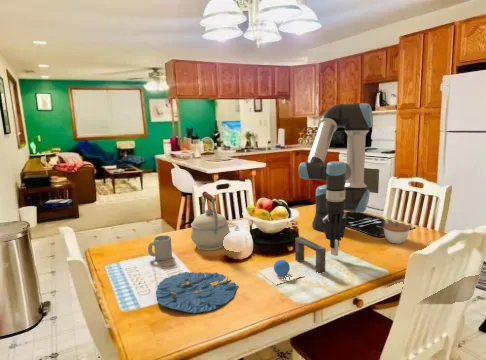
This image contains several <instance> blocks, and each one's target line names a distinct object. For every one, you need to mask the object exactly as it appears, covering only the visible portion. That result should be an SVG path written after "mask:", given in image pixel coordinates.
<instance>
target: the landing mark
mask: <svg viewBox="0 0 486 360" xmlns="http://www.w3.org/2000/svg"><path fill="white" fill-rule="evenodd" d="M289 267H290V269H289V272H288V273H287V274H286V275H284V276H279V275H277V274H276V273H275V271H274V266H271V267H267V268H264V269H259V270H257V273H259V275H261V276H263V277H264V278H265V279H267V280H268V281H270V282H271V283H272V284H274V285H275V286H278V285H281V284H280V283H282V284H285V283H288V282H287V280H286V277H289V276H290V277H292V276H291V275H293V274H294V273H295V270H296V269H294V268H293V267H292V266H290V265H289ZM293 270H294V272H293ZM290 271H291V272H290ZM292 272H293V273H292ZM296 274H297V272H296V273H295V274H294V275H296ZM287 275H288V276H287ZM297 275H299V276H300V275H301V276H300V277H302V278H305V277H304V276H305V275H304V274H302V272H299V274H297ZM285 276H286V277H285ZM299 276H298V277H299ZM290 277H289V280H290ZM294 277H295V276H294ZM284 278H285V280H284ZM282 279H283V280H282ZM292 281H295V280H294V279H293V280H292ZM284 282H285V283H284ZM277 284H278V285H277Z"/></svg>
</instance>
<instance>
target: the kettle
mask: <svg viewBox="0 0 486 360" xmlns="http://www.w3.org/2000/svg"><path fill="white" fill-rule="evenodd" d="M201 195H202V198H203V200H202V205H201V210H202V211H201V212H202V213H201V214H199V215H197V216H196V217H195V218H194V219H193V221H192V222H191V223H190V226H191V230H190V238H191V241H192V242H193V243H194V245H195V247H196V248H198V249H199V250H202V251H216V250H220V249H223V248H224V247H223V240H224V237H225V236H226V235H227V234H228V233H230V234H231V232H230V228H229V223H230V222H229V220H227V219H226V217H225V216H224V215H222V214H220V213H218V212H217V210H216V200H217V199H216V197H215V196H213V195H211V194H210V193H208V192H207V191H203V192H202V194H201ZM206 201H208V202H210V203H211V208H212V209H211V208H208V209H207V210H206Z"/></svg>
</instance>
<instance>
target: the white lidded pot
mask: <svg viewBox="0 0 486 360" xmlns="http://www.w3.org/2000/svg"><path fill="white" fill-rule="evenodd" d="M383 227H384V228H383V233H384V237H385V238H386V239H387V241H388V242H389V241H390V242H392V243H391V244H393V243H402V242H403V243H404V242H405V241H406V240H407V239H408V237H409V232H410V226H409V225H407V224H404V223H400V222H397V221H396V222H387V223H386V222H385V224H383ZM390 242H389V243H390ZM403 243H402V244H403Z"/></svg>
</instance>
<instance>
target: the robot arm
mask: <svg viewBox="0 0 486 360" xmlns="http://www.w3.org/2000/svg"><path fill="white" fill-rule="evenodd" d="M372 127H374V116H373V110H372V106H371V104H370V103H367V102H365V103H364V102H363V103H361V102H360V103H359V102H358V103H356V102H355V103H339V104H335V105H332V106H330V107H329V108H327V110H325V111H324V112H323V114H322V115H321V116H320V118H319V119H318V122H317V128H318V129H317V131H316V134H315V137H314V140H313V143H312V145H311V149H310V152H309V155H308V157H307V160H306V161H304V162H300V164H299V165H298V176H299V178H300V179H303V180H311V181H312V180H315V181H326V183H325V184H323V185H321V184H320V185H319V186H317V187H316V190H315V214H314V217H313V220H312V224H311V228H312V227H313V228H314V229H313V228H312V229H313V230H315V229H316V231H318V230H319V231H318V232H323V231H325V232H324V234H325V239H326V240H328V241H329V248H330V254H331V255H333V256H334V257H336V256H339V247H340V241H341V240H342V239H343V238H344V234H345V231H346V225H347V220H348V219H349V214H347V213H345V211H346V212H354V213H364V212H365V211H366V210H367V207H368V205H369V199H370V193H371V192H370V189H368V185H367V184H366V183H365V180H364V179H365V163H366V162H365V158H366V135H367V134H368V133H369V132H370V128H372ZM339 128H344V132H345V134H346V135H347V138H346V140H347V146H346V149H347V150H346V162H344V161H341V160H340V161H339V160H338V161H336V160H335V161H334V160H333V161H329V162H325V160H326V158H327V153H328V150H329V147H330V145H331V141H332V139H333V135H334V133H335V132H336V131H337V130H338V129H339Z"/></svg>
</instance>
